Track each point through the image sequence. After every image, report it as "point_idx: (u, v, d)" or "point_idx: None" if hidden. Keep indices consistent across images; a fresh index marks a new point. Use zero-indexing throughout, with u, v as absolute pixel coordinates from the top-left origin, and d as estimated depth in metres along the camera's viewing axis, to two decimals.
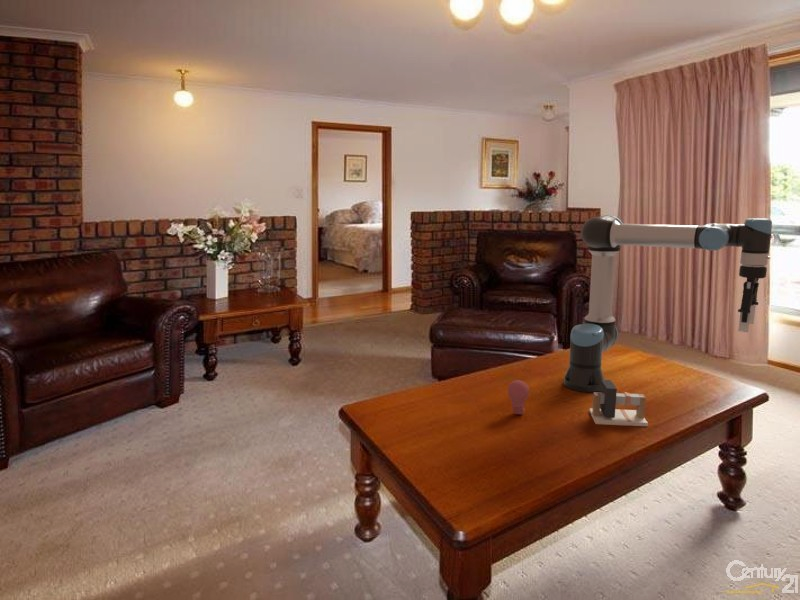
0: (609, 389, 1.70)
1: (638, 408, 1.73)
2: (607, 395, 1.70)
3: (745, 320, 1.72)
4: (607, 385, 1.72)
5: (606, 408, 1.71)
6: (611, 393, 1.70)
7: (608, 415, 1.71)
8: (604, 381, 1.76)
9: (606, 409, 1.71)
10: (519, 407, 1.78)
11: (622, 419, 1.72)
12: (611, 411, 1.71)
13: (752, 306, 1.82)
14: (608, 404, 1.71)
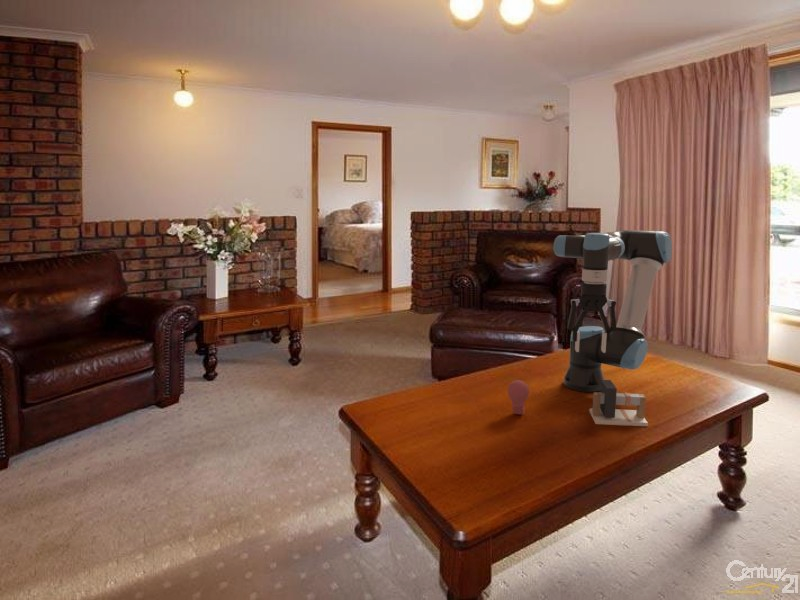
0: (609, 389, 1.70)
1: (638, 408, 1.73)
2: (607, 395, 1.70)
3: (572, 338, 1.71)
4: (607, 385, 1.72)
5: (606, 408, 1.71)
6: (611, 393, 1.70)
7: (608, 415, 1.71)
8: (604, 381, 1.76)
9: (606, 409, 1.71)
10: (519, 407, 1.78)
11: (622, 419, 1.72)
12: (611, 411, 1.71)
13: (603, 333, 1.70)
14: (608, 404, 1.71)
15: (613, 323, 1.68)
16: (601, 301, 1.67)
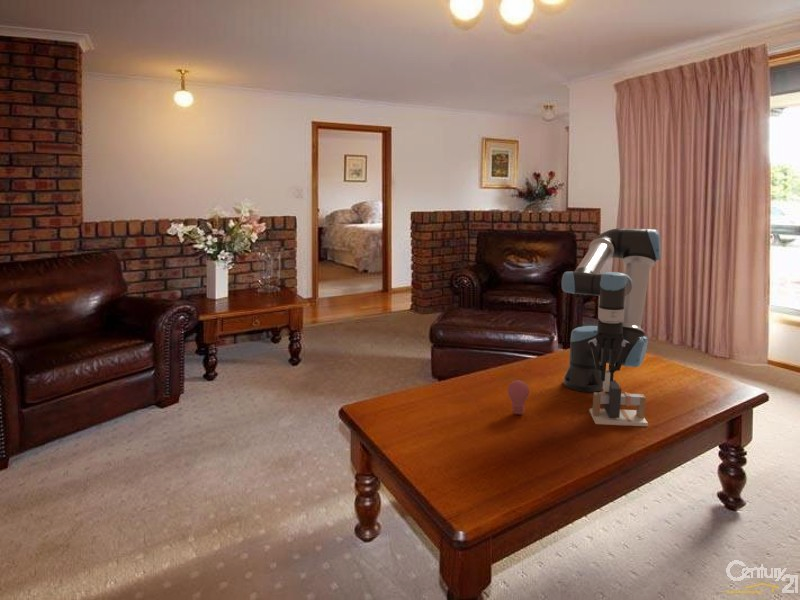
0: (613, 390, 1.69)
1: (638, 408, 1.73)
2: (612, 395, 1.70)
3: (600, 378, 1.73)
4: (612, 385, 1.72)
5: (611, 408, 1.71)
6: (616, 393, 1.69)
7: (613, 415, 1.71)
8: None
9: (611, 409, 1.71)
10: (519, 407, 1.78)
11: (622, 419, 1.72)
12: (616, 411, 1.71)
13: None
14: (613, 404, 1.70)
15: (619, 363, 1.70)
16: (617, 339, 1.69)
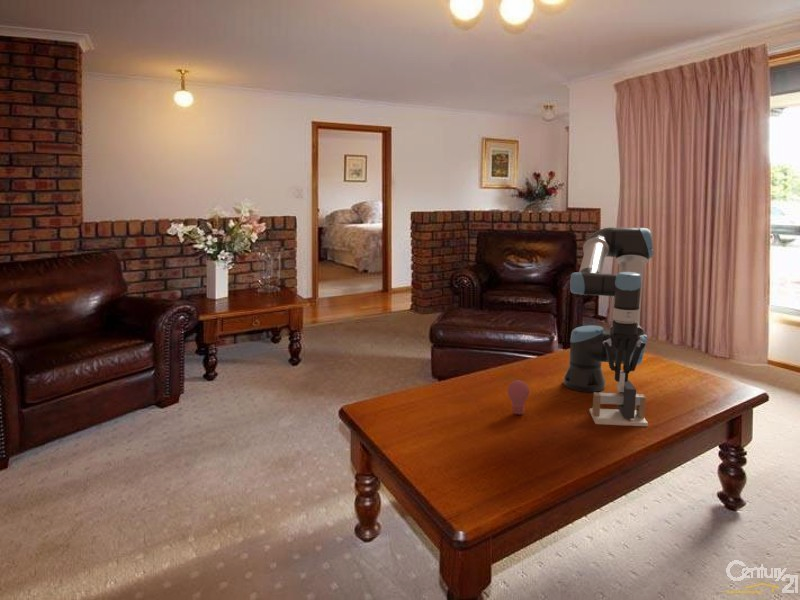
0: (628, 390, 1.69)
1: (638, 408, 1.73)
2: (626, 396, 1.69)
3: (615, 378, 1.72)
4: (626, 386, 1.71)
5: (625, 409, 1.70)
6: (630, 394, 1.69)
7: (627, 416, 1.70)
8: None
9: (625, 410, 1.70)
10: (519, 407, 1.78)
11: (622, 419, 1.72)
12: (630, 412, 1.70)
13: None
14: (627, 405, 1.70)
15: (634, 363, 1.69)
16: (632, 339, 1.68)
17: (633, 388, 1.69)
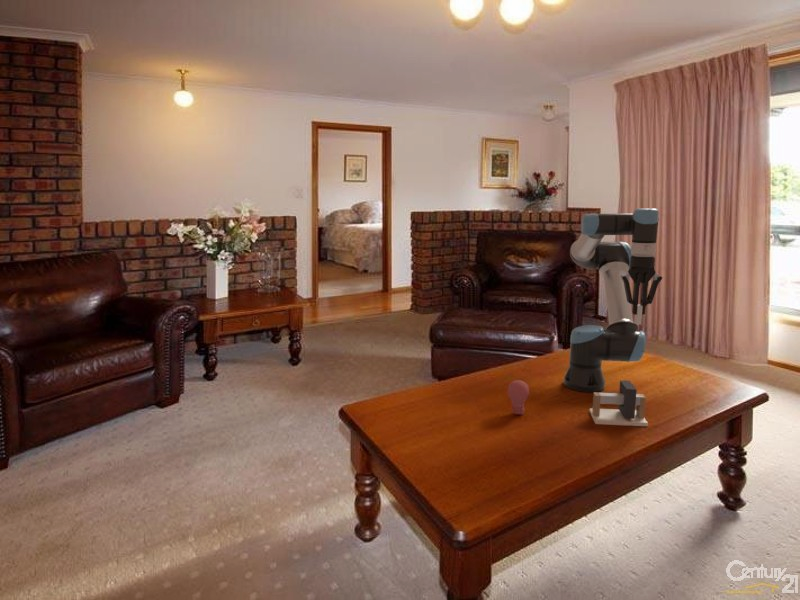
0: (628, 390, 1.69)
1: (638, 408, 1.73)
2: (627, 396, 1.69)
3: (633, 312, 1.80)
4: (626, 386, 1.71)
5: (626, 409, 1.70)
6: (631, 394, 1.69)
7: (628, 416, 1.70)
8: (623, 382, 1.75)
9: (626, 410, 1.70)
10: (519, 407, 1.78)
11: (622, 419, 1.72)
12: (631, 412, 1.70)
13: None
14: (628, 405, 1.70)
15: (651, 296, 1.77)
16: (649, 272, 1.76)
17: (633, 388, 1.69)
